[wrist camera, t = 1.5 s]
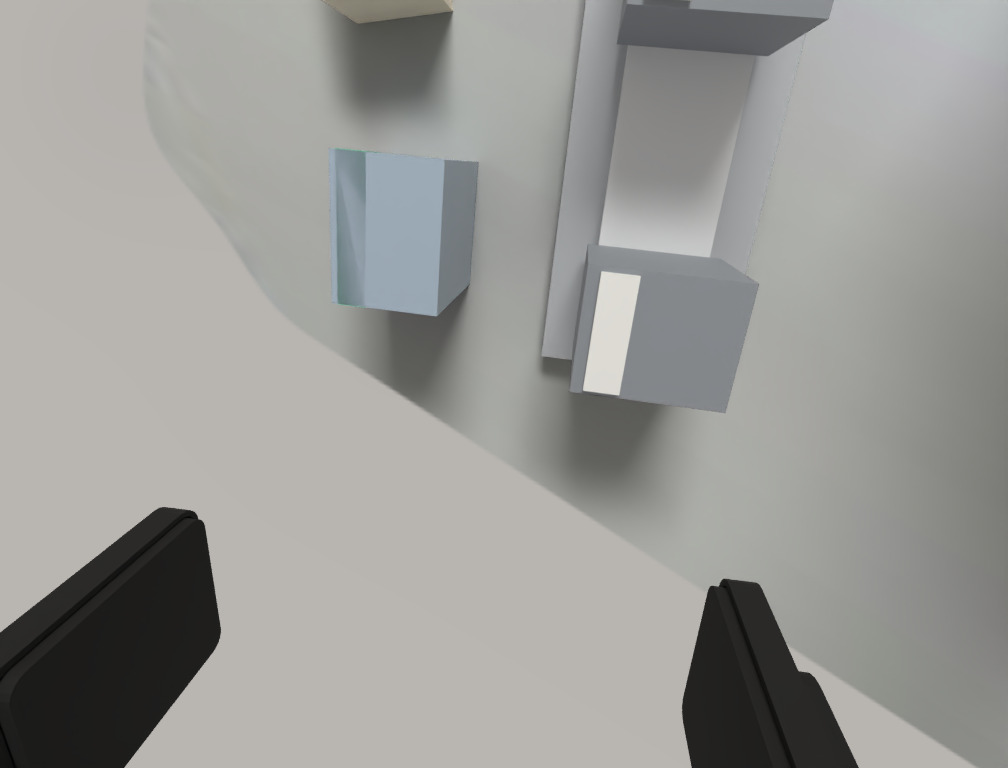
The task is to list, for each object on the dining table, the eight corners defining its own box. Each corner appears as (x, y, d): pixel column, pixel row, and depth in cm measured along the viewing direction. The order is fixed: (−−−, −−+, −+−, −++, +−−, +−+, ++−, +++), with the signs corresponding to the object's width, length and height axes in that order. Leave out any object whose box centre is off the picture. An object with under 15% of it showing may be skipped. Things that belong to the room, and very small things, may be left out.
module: (389, 152, 28) (328, 147, 21) (478, 161, 27) (444, 159, 21) (387, 274, 30) (331, 303, 24) (469, 284, 30) (436, 316, 23)
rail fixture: (601, -117, 23) (610, -265, 15) (831, -105, 22) (965, -254, 14) (543, 349, 30) (528, 411, 22) (713, 371, 29) (760, 444, 22)
